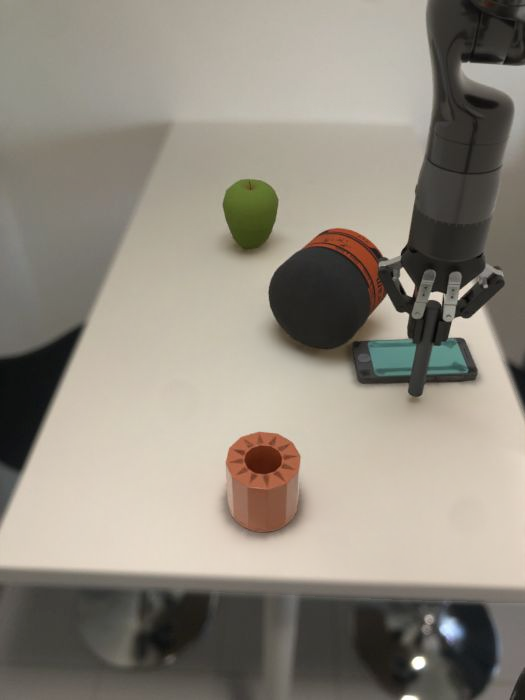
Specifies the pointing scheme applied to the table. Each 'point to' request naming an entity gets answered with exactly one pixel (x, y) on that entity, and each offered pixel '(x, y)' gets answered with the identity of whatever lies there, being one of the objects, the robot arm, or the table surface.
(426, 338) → the stylus
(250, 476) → the pen pot
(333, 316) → the oil filter
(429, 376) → the smartphone
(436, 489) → the table surface
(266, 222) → the apple
